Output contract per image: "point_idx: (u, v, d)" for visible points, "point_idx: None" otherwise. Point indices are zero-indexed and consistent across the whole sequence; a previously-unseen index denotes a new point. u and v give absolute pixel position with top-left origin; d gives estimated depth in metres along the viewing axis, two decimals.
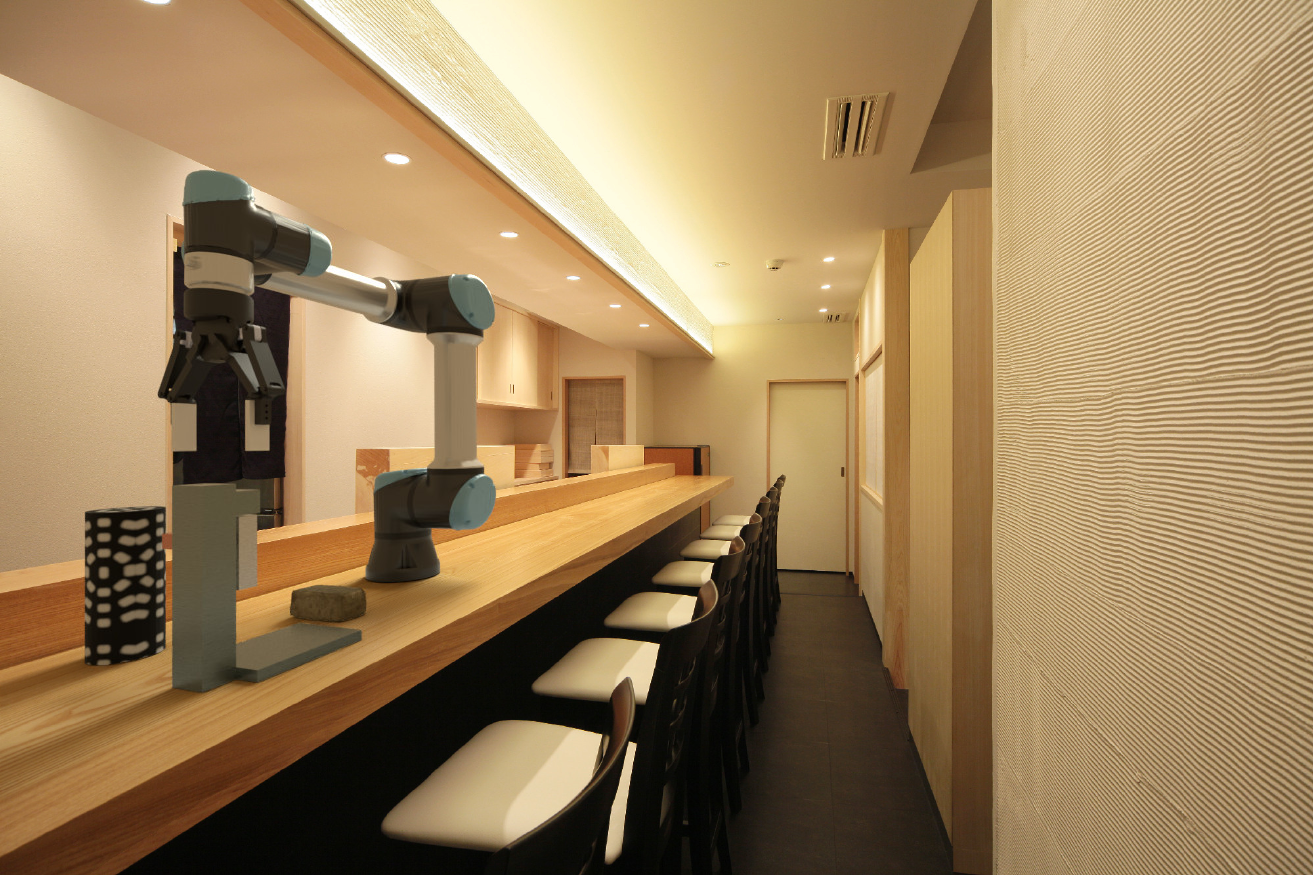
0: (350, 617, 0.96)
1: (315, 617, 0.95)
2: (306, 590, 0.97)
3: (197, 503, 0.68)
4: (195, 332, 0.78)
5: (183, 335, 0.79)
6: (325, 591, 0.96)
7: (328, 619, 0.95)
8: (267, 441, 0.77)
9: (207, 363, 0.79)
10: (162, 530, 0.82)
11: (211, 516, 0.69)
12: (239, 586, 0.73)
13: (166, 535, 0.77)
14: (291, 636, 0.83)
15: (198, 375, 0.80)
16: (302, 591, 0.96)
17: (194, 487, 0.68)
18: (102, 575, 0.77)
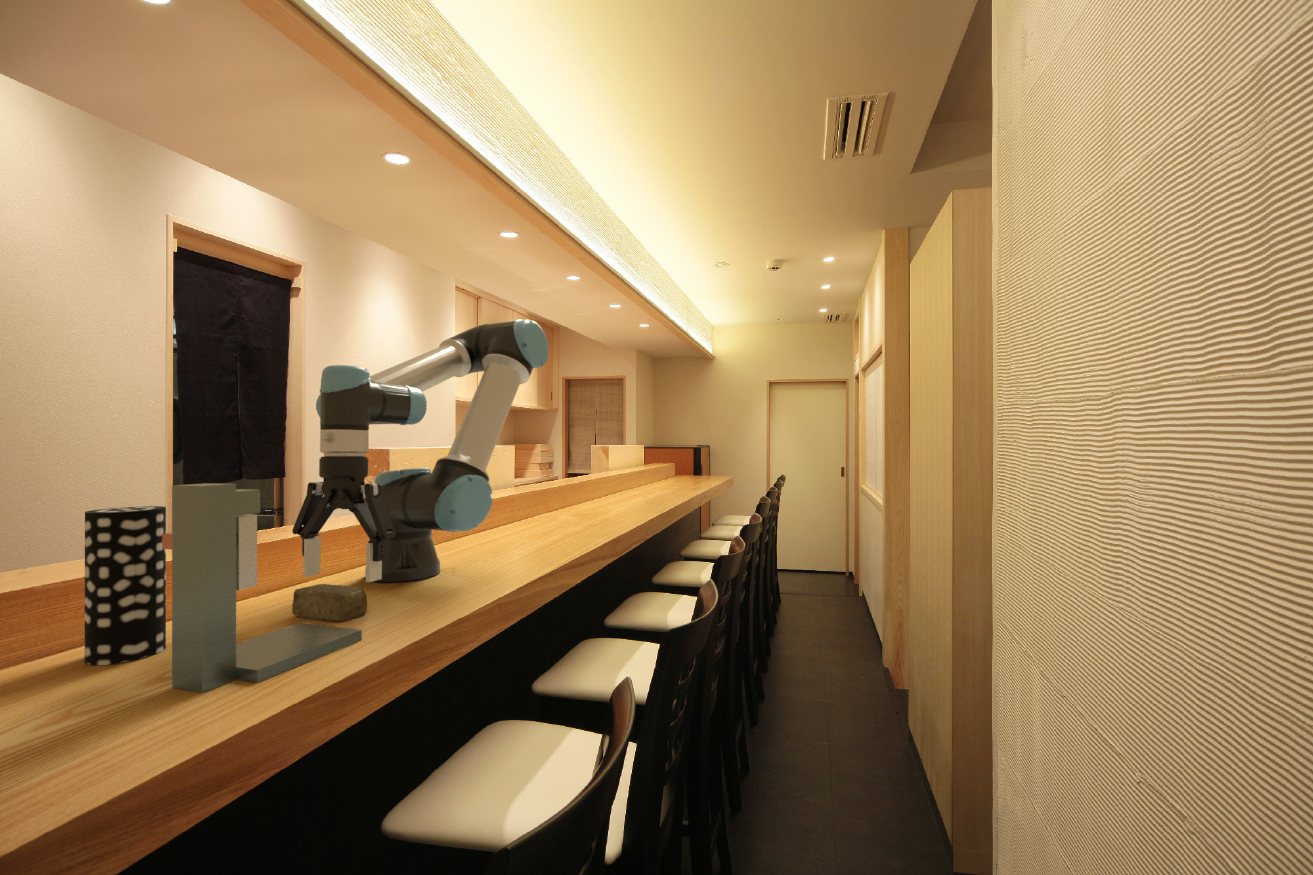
0: (350, 617, 0.96)
1: (316, 617, 0.95)
2: (308, 589, 0.97)
3: (197, 503, 0.68)
4: (325, 485, 1.01)
5: (314, 486, 1.02)
6: (326, 591, 0.96)
7: (328, 619, 0.95)
8: (380, 572, 1.00)
9: (332, 507, 1.03)
10: (162, 530, 0.82)
11: (211, 516, 0.69)
12: (239, 586, 0.73)
13: (166, 535, 0.77)
14: (291, 636, 0.83)
15: (324, 517, 1.03)
16: (304, 590, 0.97)
17: (194, 487, 0.68)
18: (102, 575, 0.77)
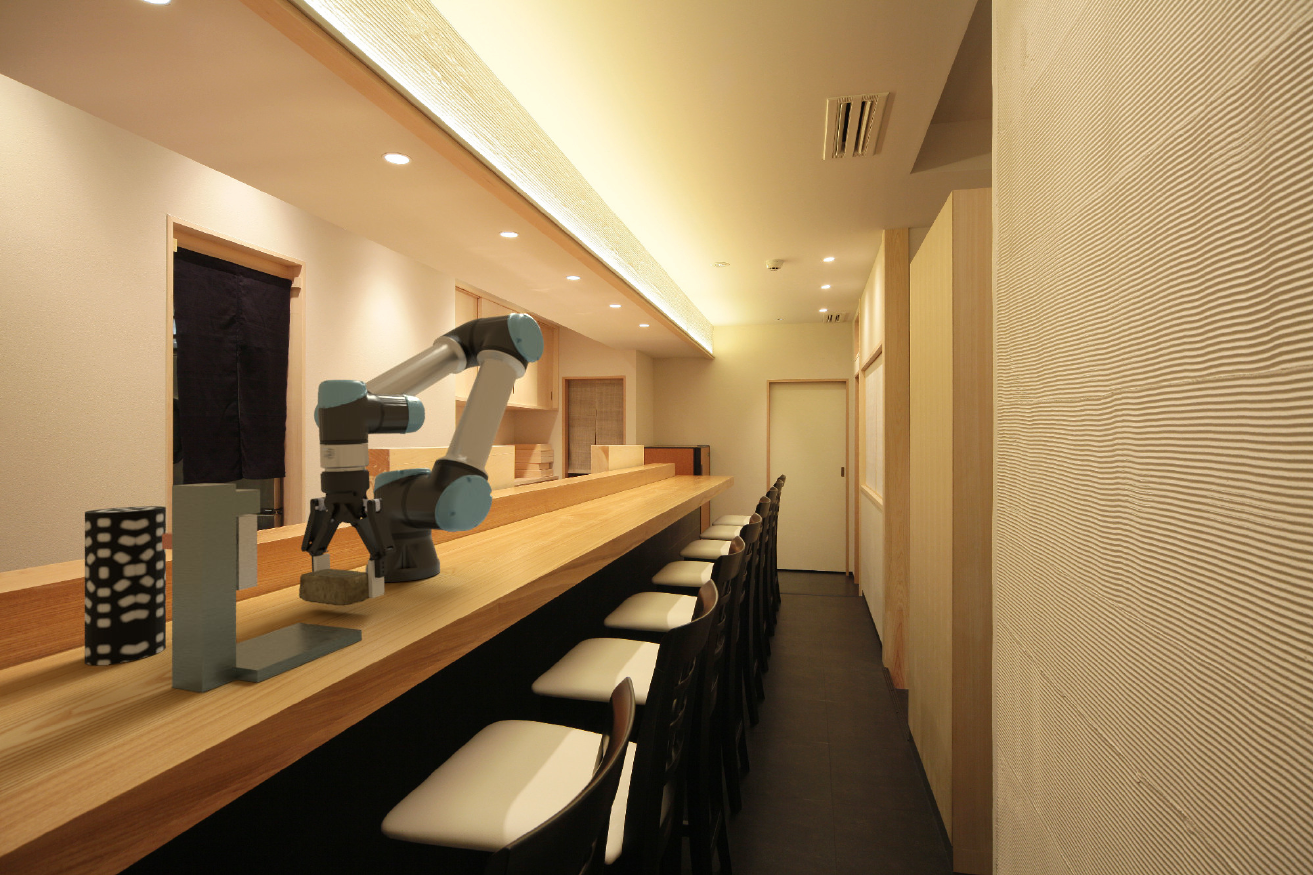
0: (354, 601, 0.97)
1: (321, 601, 0.97)
2: (313, 574, 0.98)
3: (197, 503, 0.68)
4: (327, 500, 1.02)
5: (317, 502, 1.03)
6: (330, 575, 0.97)
7: (333, 603, 0.96)
8: (383, 587, 1.01)
9: None
10: (162, 530, 0.82)
11: (211, 516, 0.69)
12: (239, 586, 0.73)
13: (166, 535, 0.77)
14: (291, 636, 0.83)
15: (331, 532, 1.03)
16: (310, 575, 0.98)
17: (194, 487, 0.68)
18: (102, 575, 0.77)
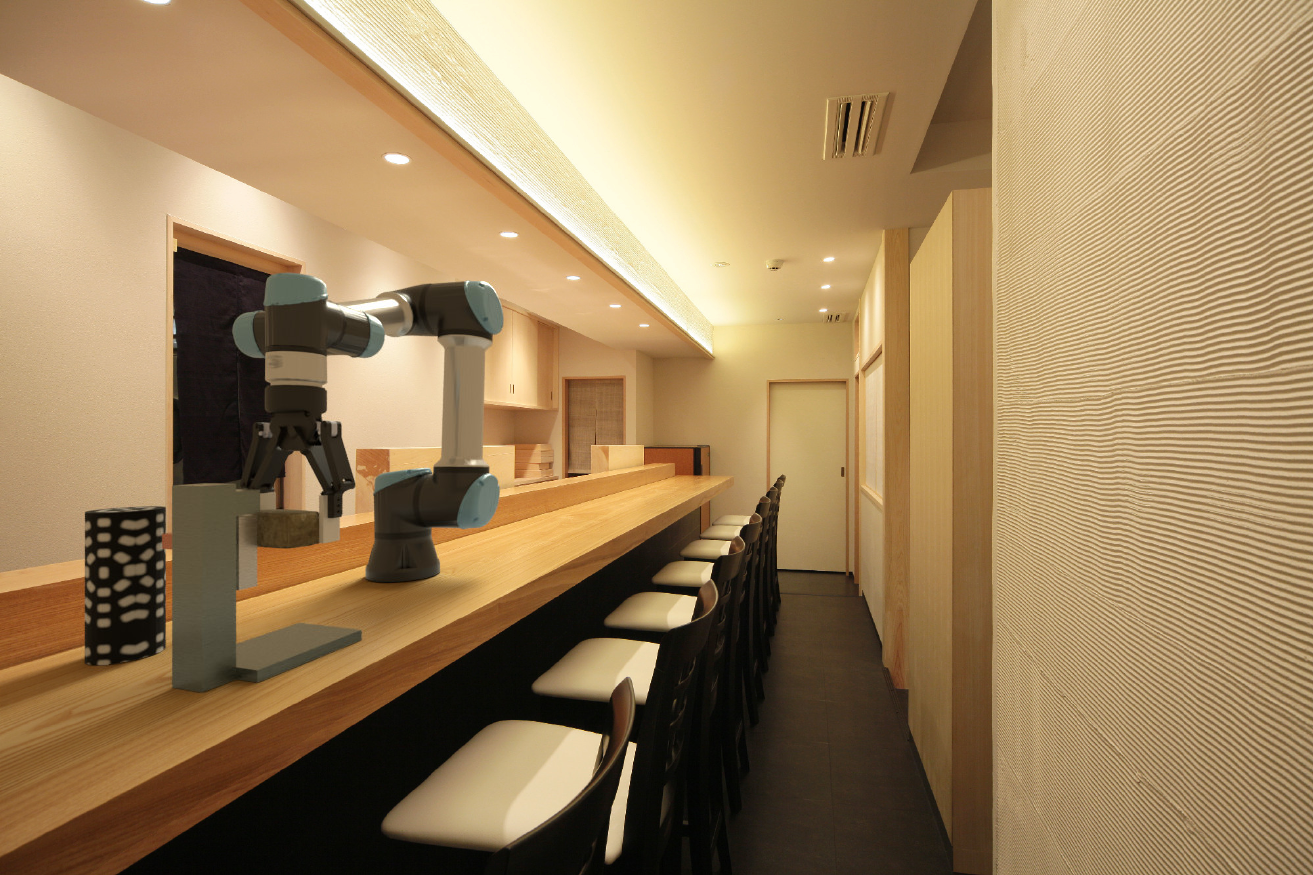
0: (299, 544, 0.77)
1: (258, 543, 0.77)
2: None
3: (197, 503, 0.68)
4: (273, 423, 0.83)
5: (261, 426, 0.84)
6: (270, 511, 0.78)
7: (271, 545, 0.76)
8: (338, 532, 0.82)
9: (285, 452, 0.84)
10: (162, 530, 0.82)
11: (211, 516, 0.69)
12: (239, 586, 0.73)
13: (166, 535, 0.77)
14: (291, 636, 0.83)
15: (277, 464, 0.84)
16: None
17: (194, 487, 0.68)
18: (102, 575, 0.77)
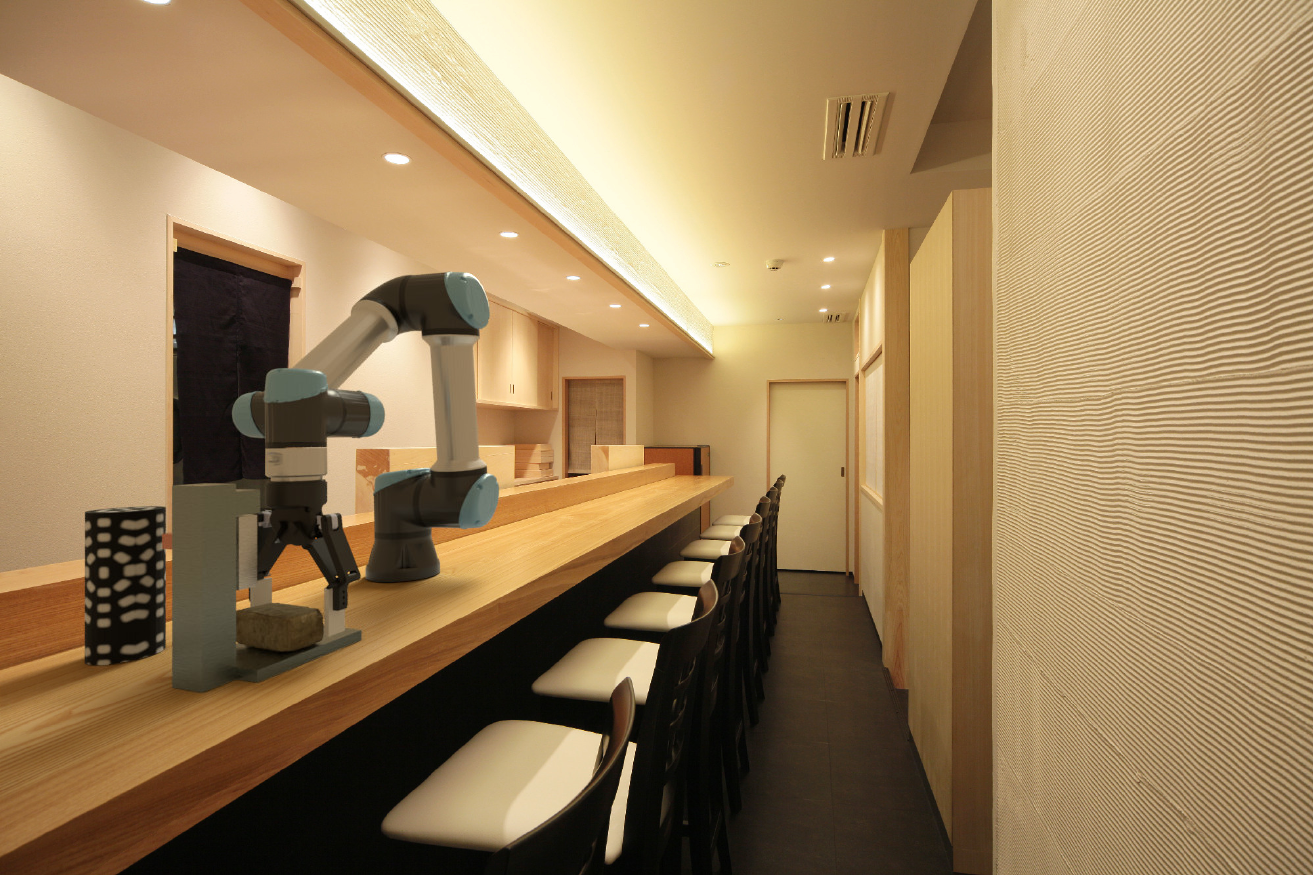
0: (300, 646, 0.77)
1: (259, 645, 0.77)
2: (251, 611, 0.79)
3: (197, 503, 0.68)
4: (274, 516, 0.82)
5: (261, 517, 0.83)
6: (271, 613, 0.78)
7: (272, 648, 0.76)
8: (343, 622, 0.81)
9: None
10: (162, 530, 0.82)
11: (211, 516, 0.69)
12: (239, 586, 0.73)
13: (166, 535, 0.77)
14: None
15: (275, 554, 0.84)
16: (246, 612, 0.79)
17: (194, 487, 0.68)
18: (102, 575, 0.77)
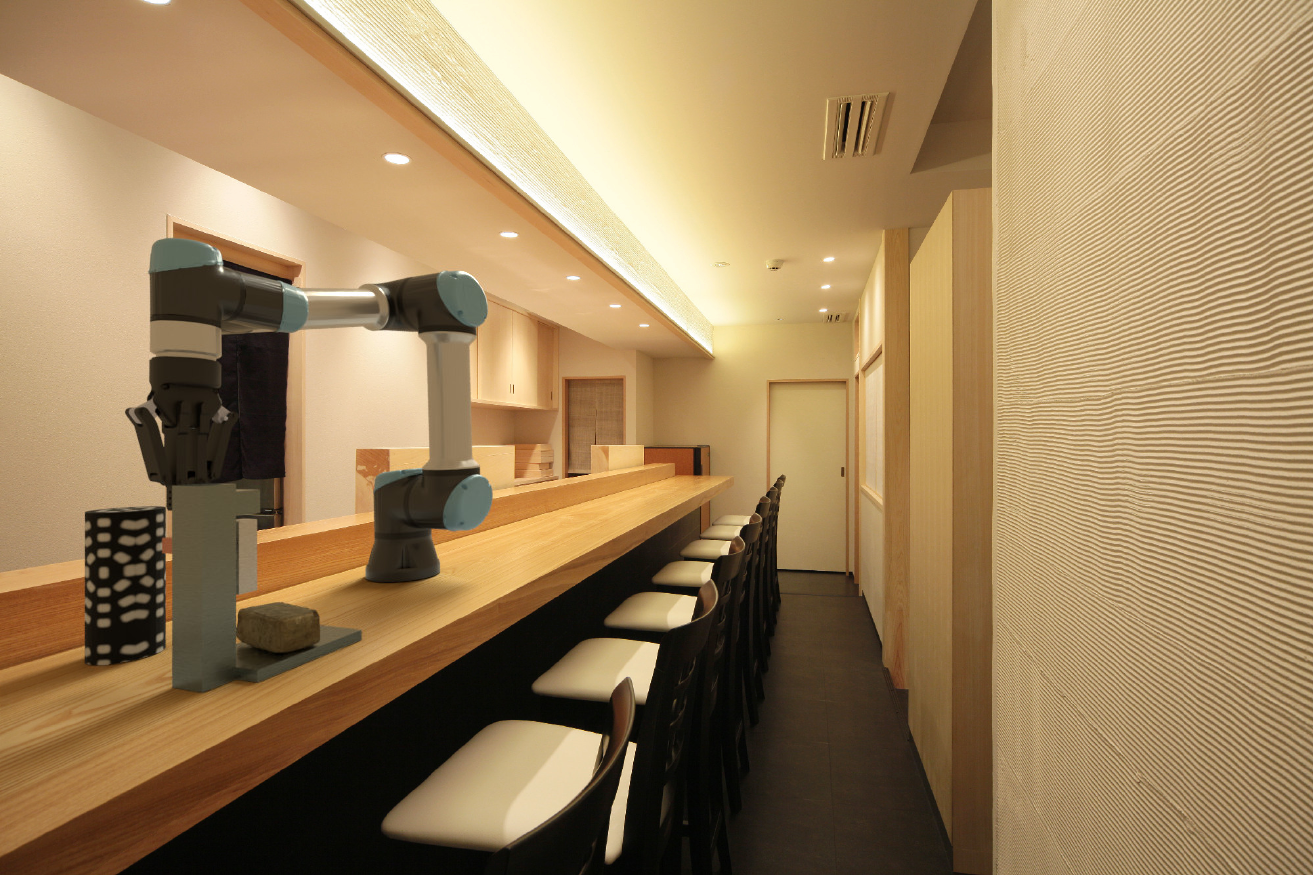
0: (294, 648, 0.76)
1: (257, 645, 0.77)
2: (252, 610, 0.79)
3: (197, 503, 0.68)
4: None
5: None
6: (268, 613, 0.77)
7: (267, 649, 0.76)
8: None
9: (193, 430, 0.79)
10: (162, 530, 0.82)
11: (211, 516, 0.69)
12: (238, 590, 0.73)
13: (166, 539, 0.77)
14: None
15: (192, 446, 0.79)
16: (247, 611, 0.79)
17: (194, 487, 0.68)
18: (102, 575, 0.77)
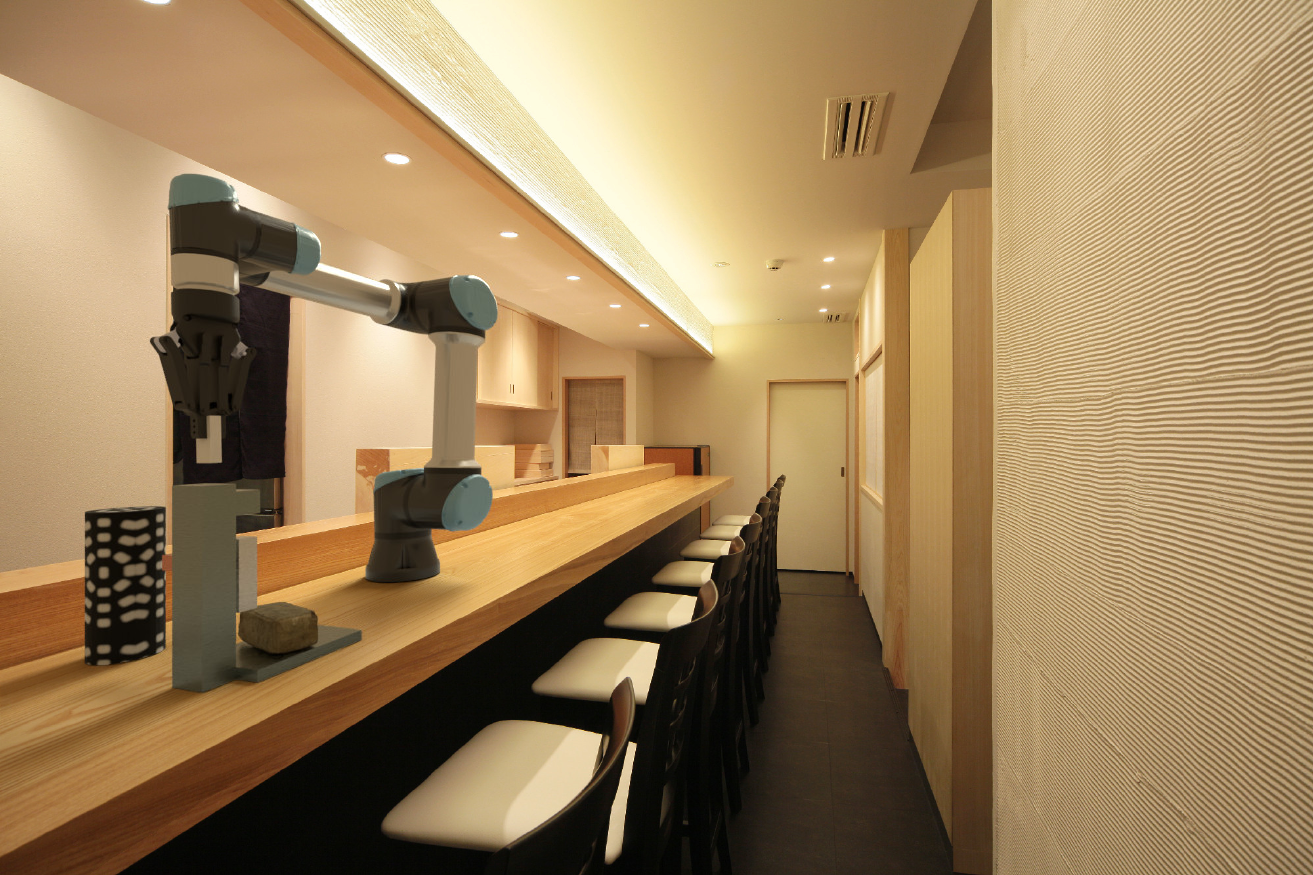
0: (291, 649, 0.76)
1: (256, 645, 0.77)
2: (253, 609, 0.79)
3: (197, 503, 0.68)
4: None
5: None
6: (267, 613, 0.77)
7: (265, 649, 0.76)
8: (209, 454, 0.80)
9: (214, 363, 0.81)
10: (162, 530, 0.82)
11: (211, 516, 0.69)
12: (239, 608, 0.73)
13: (166, 557, 0.77)
14: None
15: (213, 378, 0.81)
16: (248, 610, 0.79)
17: (194, 487, 0.68)
18: (102, 575, 0.77)
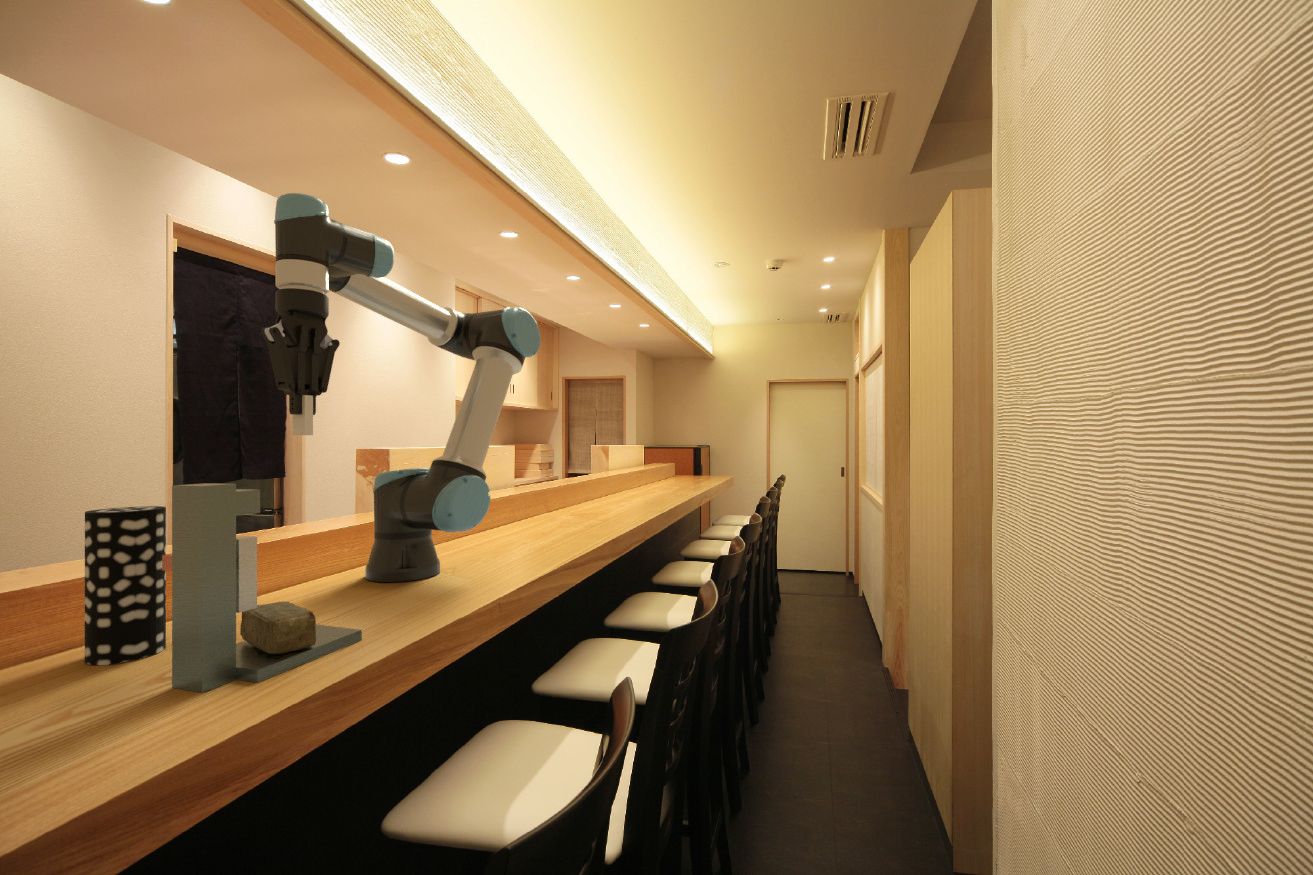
0: (287, 649, 0.76)
1: (255, 645, 0.77)
2: (253, 609, 0.79)
3: (197, 503, 0.68)
4: None
5: None
6: (266, 613, 0.77)
7: (263, 649, 0.76)
8: (304, 427, 0.95)
9: (308, 351, 0.97)
10: (162, 530, 0.82)
11: (211, 516, 0.69)
12: (239, 608, 0.73)
13: (166, 557, 0.77)
14: None
15: (307, 364, 0.97)
16: (249, 610, 0.79)
17: (194, 487, 0.68)
18: (102, 575, 0.77)
